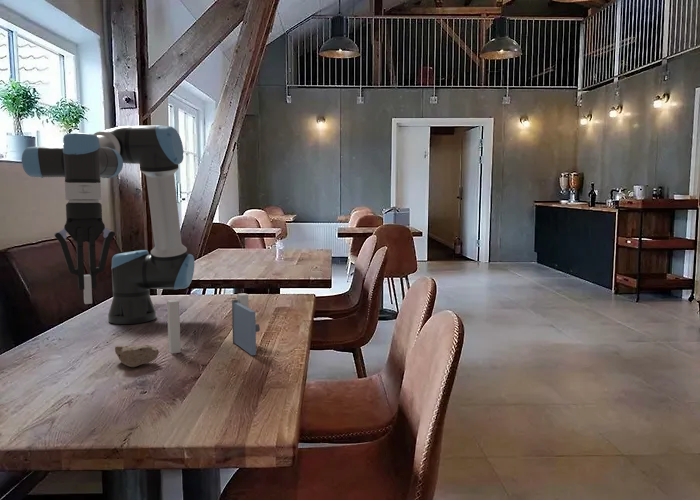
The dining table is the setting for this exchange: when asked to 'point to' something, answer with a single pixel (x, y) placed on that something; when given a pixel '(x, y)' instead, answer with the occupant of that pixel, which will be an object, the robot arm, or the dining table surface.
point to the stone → (136, 354)
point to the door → (244, 327)
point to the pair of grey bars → (175, 322)
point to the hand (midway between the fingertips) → (88, 302)
